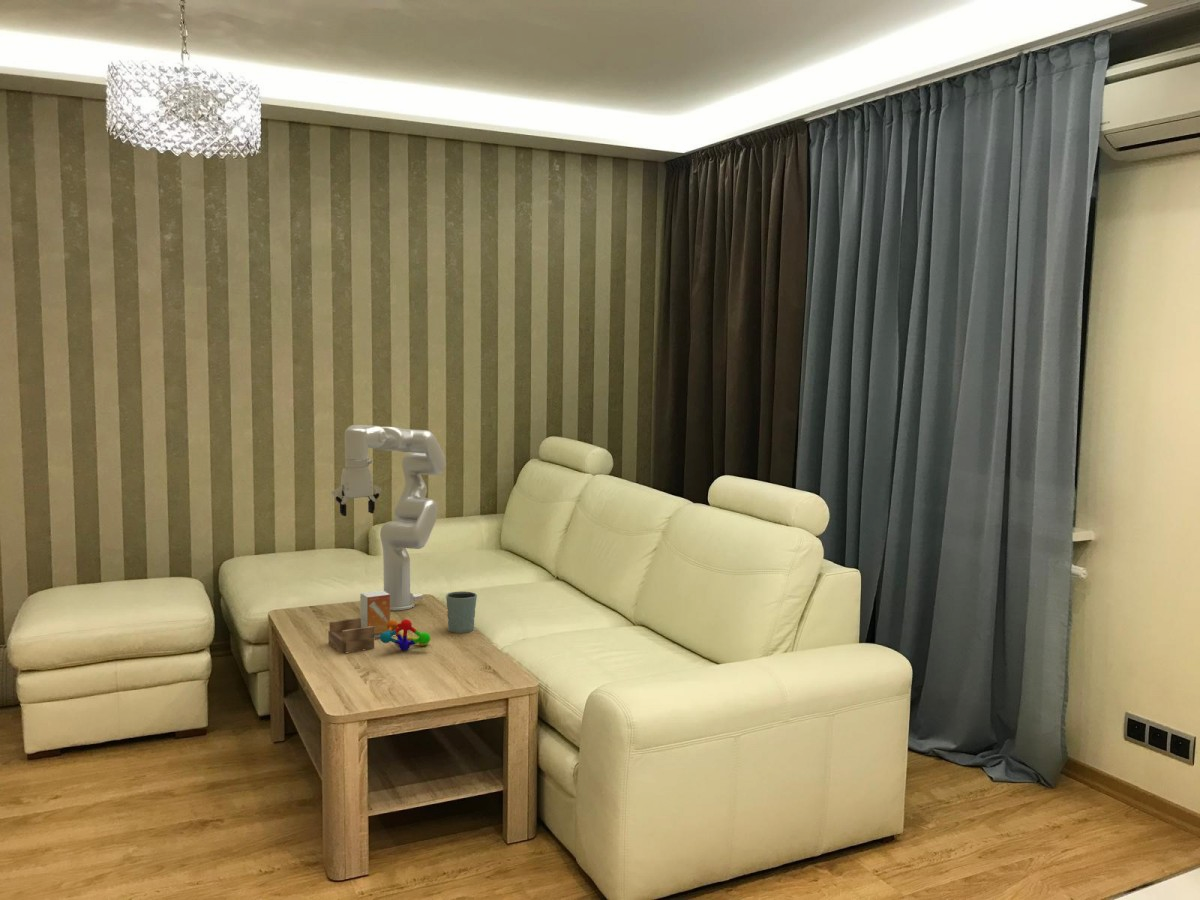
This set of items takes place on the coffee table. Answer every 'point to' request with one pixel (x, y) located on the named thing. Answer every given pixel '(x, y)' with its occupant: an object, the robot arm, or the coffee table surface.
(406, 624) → the molecular model
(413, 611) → the coffee table surface
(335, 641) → the slot
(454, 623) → the blue-grey cup
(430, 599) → the coffee table surface
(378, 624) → the small box
